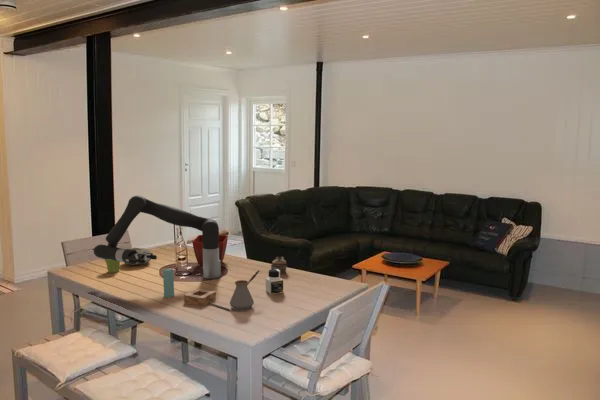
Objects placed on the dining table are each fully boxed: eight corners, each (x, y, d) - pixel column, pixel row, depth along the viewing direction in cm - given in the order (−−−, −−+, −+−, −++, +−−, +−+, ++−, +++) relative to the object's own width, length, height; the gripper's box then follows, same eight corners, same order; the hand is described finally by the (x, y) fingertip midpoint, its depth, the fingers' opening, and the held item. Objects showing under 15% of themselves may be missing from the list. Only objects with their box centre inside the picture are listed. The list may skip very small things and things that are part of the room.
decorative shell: (144, 258, 323) (144, 243, 321) (157, 264, 310) (156, 248, 308) (117, 263, 311) (117, 248, 309) (129, 269, 298) (129, 253, 296)
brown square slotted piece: (197, 296, 251) (197, 288, 251) (215, 299, 247) (215, 291, 246) (184, 302, 242) (184, 295, 241) (202, 306, 237) (202, 298, 236)
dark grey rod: (208, 304, 240) (208, 302, 240) (210, 303, 241) (209, 302, 240) (229, 311, 231) (228, 309, 231) (230, 310, 232) (230, 308, 232)
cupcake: (284, 270, 298) (284, 254, 296) (288, 274, 289) (288, 258, 287) (268, 271, 295) (268, 255, 293) (273, 276, 286) (273, 259, 284)
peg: (168, 294, 254) (167, 268, 252) (174, 295, 252) (173, 269, 250) (164, 296, 251) (163, 270, 249) (169, 297, 249) (168, 270, 247)
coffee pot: (244, 314, 227) (244, 283, 225) (224, 309, 233) (224, 279, 231) (269, 300, 246) (269, 271, 244) (250, 296, 251) (250, 268, 249)
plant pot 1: (116, 274, 288) (115, 260, 286) (101, 273, 290) (101, 259, 288) (125, 270, 297) (124, 256, 295) (110, 269, 299) (110, 255, 297)
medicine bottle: (271, 294, 254) (270, 272, 252) (265, 290, 260) (265, 268, 258) (283, 292, 257) (283, 270, 255) (277, 288, 263) (277, 267, 262)
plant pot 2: (223, 268, 300) (223, 241, 298) (192, 268, 301) (191, 241, 298) (228, 260, 319) (228, 235, 317) (199, 260, 320) (198, 234, 317)
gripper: (116, 251, 253) (140, 255, 246) (136, 246, 266) (159, 249, 259) (116, 265, 254) (140, 269, 248) (136, 259, 267) (160, 263, 260)
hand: (150, 259), depth 253 cm, fingers open, 8 cm apart
